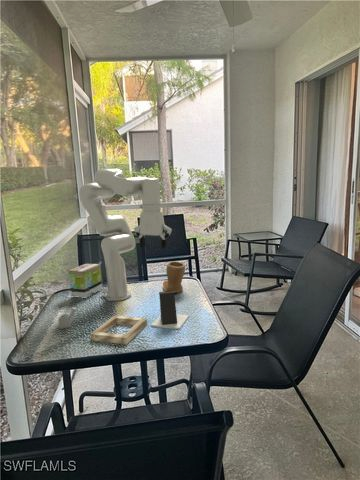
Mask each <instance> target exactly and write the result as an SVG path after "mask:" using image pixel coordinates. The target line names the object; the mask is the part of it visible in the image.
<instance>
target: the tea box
mask: <svg viewBox="0 0 360 480" xmlns="http://www.w3.org/2000/svg"><path fill="white" fill-rule="evenodd" d="M68 280H69V281H68V282H69V290H70V297H71V296H79V297H88V296H89V295H91V294H93V293H94V292H96V291H98V290H100V289H102V288H103V278H102V268H101V264H99V263H84V264H81V265H79V266H76V267H74V268H72V269H68ZM102 290H103V289H102ZM93 295H94V294H93ZM91 296H92V295H91ZM89 297H90V296H89ZM89 297H88V298H89Z"/></svg>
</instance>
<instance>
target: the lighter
mask: <svg viewBox="0 0 360 480" xmlns="http://www.w3.org/2000/svg"><path fill="white" fill-rule="evenodd" d="M71 308H72V309H71V311H70V314H69V315H68V314H67V313H66V314H63V313H62V314H61V315H60V316H59V317H58V323H59V324H58V325H59V329H65V328H71V326H72V323H71V322H72V321H71V318H72V319H73V318H74V315H75V312H76V309H77V307H75V306H72V307H71Z"/></svg>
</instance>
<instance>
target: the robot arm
mask: <svg viewBox="0 0 360 480" xmlns="http://www.w3.org/2000/svg"><path fill="white" fill-rule="evenodd" d="M160 184H161V183H160V180H159V178H157V177H126V176H125V174H124V172H123V171H122V170H121V169H119V168H103V169H99V170H97V171H96V172H95V173H94V182H90V183H89V182H88V183H84V184H83V185H82V186H80V187H79V191H78V193H79V194H78V195H79V196H78V197H79V200H80V203H81V205H82V206H83V208H84V210H86V212H87V214H88V216H89V218H90V220H91V222H92V224H93V226H94V228H95V230H96V232H97V234H99V236H102V237H104V236H105V237H104V238H103V239H102V240H101V244H100V247H101V251H102V255H103V259H104V265H105V273H106V282H107V287H102V288H103V289H102V290H101V291H102V294H105V293H106V295H105V299H106V300H107V301H109V302H118V301H124V300H128V299H129V298H130V297H131V296H132V294H131V292H130V291H129V290H128V285H127V284H128V283H127V274H126V263H125V260H124V258H123V257H122V256H121V254H123V253H127V252H130V251H133V250H134V249H135V248H136V240H135V237H134V234H133V233H132V231H131V228H130V226H129V224H128V222H127V220H126V219H125V218H124V217H123V216H122V215H119V214H117V215H116V214H114V215H110V214H108V212H107V209H106V208H105V206H103V205H102V203H100V202H98V201H97V200H107V199H111V198H113V197H114V196H115V195H118V196H121V197H134V196H141V200H142V201H141V202H142V204H140V205H139V209H142V211H140V216H139V225H137V226H135V227H134V228H133V230H134V232H135V234H136V237H138V238H139V243H140V248H145V247H147V246H146V245H147V243H146V237H145V236H155V237H156V236H159V237H160V238H161V240H160V241H161V245H160V246H161V249H162V250H164V249H166V248H167V243H168V242H167V239H168V238H169V237H170V235H171V234H172V231H173V230H172V228H171V227H169V226H167V225H166V223H165V219H164V214H163V210H161V208H162V207H161V190H160V189H161V188H160V186H161V185H160ZM165 232H166V233H165Z"/></svg>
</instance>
